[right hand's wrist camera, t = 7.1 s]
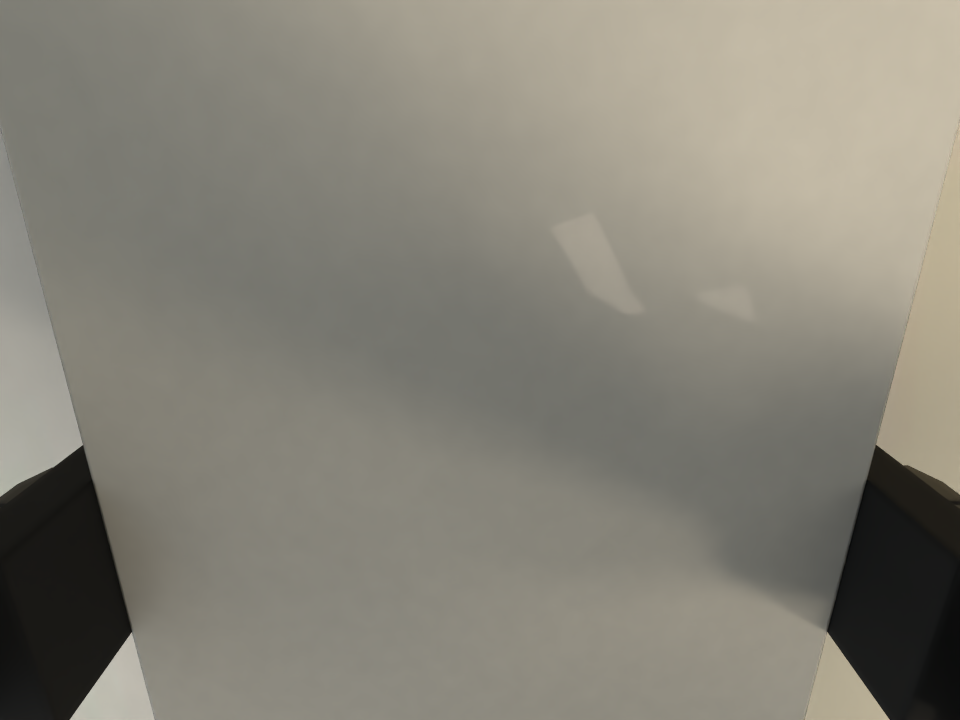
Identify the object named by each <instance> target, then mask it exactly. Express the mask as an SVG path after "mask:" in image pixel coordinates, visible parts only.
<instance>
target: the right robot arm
mask: <svg viewBox="0 0 960 720" xmlns="http://www.w3.org/2000/svg"><path fill="white" fill-rule="evenodd" d="M131 632H132V630H131V626H130V622H129V619H128V615H127V611H126V607H125V603H124V599H123V596H122V592H121V588H120V584H119V580H118V576H117V573H116V569H115V565H114V561H113V557H112V553H111V550H110V546H109V542H108V538H107V534H106V531H105V527H104V523H103V519H102V515H101V511H100V508H99V504H98V500H97V496H96V492H95V488H94V485H93V481H92V477H91V473H90V469H89V465H88V462H87V458H86V454H85V450H84V446H83V445H82V446H81V447H80V448H78V449H77V450H76V451H75V452H73V453H72V454H71V455H69V456H68V457H67V458H65V459H64V460H63V461H61V462H60V463H59V464H58V465H56V466H55V467H54V468H50V469H48V470H46V471H44V472H42V473H40V474H38V475H36V476H34V477H32V478H29V479H27V480H25V481H23V482H21V483H19V484H17V485H16V486H15V487H13V488H12V489H10V490H9V491H8V492H6V493H5V494H4V495H2V496H1V497H0V720H70V718H71V717H72V715H73V714H74V713H75V711H76V710H77V708H78V707H79V706H80V704H81V703H82V701H83V700H84V699H85V697H86V696H87V694H88V693H89V692H90V690H91V689H92V687H93V686H94V684H95V683H96V682H97V680H98V679H99V677H100V676H101V675H102V673H103V672H104V670H105V669H106V668H107V666H108V665H109V663H110V662H111V661H112V659H113V658H114V656H115V655H116V653H117V652H118V651H119V649H120V648H121V646H122V645H123V644H124V642H125V641H126V639H127V638H128V637H129V635H130V634H131ZM827 632H828V633H829V635H830V636H831V637H832V639H833V640H834V642H835V643H836V645H837V646H838V647H839V649H840V650H841V652H842V653H843V654H844V656H845V657H846V659H847V660H848V661H849V663H850V664H851V666H852V667H853V668H854V670H855V671H856V673H857V674H858V676H859V677H860V678H861V680H862V681H863V683H864V684H865V685H866V687H867V688H868V690H869V691H870V692H871V694H872V695H873V697H874V698H875V699H876V701H877V702H878V704H879V705H880V707H881V708H882V709H883V711H884V712H885V714H886V715H887V716H888V718H889V719H890V720H960V495H959V494H958V493H957V492H955V491H954V490H953V489H951V488H950V487H948V486H947V485H946V484H944V483H943V482H941V481H939V480H937V479H935V478H933V477H931V476H929V475H927V474H925V473H923V472H920V471H918V470H916V469H914V468H912V467H910V466H908V465H902V464H900V463H899V462H898V461H897V460H895V459H894V458H893V457H891V456H890V455H889V454H887V453H886V452H885V451H883V450H882V449H881V448H880V447H878V446H877V445H876V446H875V449H874V453H873V457H872V461H871V465H870V469H869V473H868V476H867V480H866V484H865V488H864V492H863V496H862V500H861V503H860V507H859V511H858V515H857V519H856V523H855V526H854V530H853V534H852V538H851V542H850V546H849V550H848V553H847V557H846V561H845V565H844V569H843V573H842V577H841V580H840V584H839V588H838V592H837V596H836V600H835V603H834V607H833V611H832V615H831V619H830V623H829V627H828V630H827Z"/></svg>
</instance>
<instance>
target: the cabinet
mask: <svg viewBox="0 0 960 720" xmlns="http://www.w3.org/2000/svg"><path fill="white" fill-rule="evenodd" d="M959 122H960V0H0V128H1V132H2V136H3V140H4V144H5V147H6V151H7V155H8V159H9V163H10V167H11V170H12V174H13V178H14V182H15V186H16V190H17V193H18V197H19V201H20V205H21V209H22V212H23V216H24V220H25V224H26V228H27V232H28V235H29V239H30V243H31V247H32V251H33V255H34V258H35V262H36V266H37V270H38V274H39V278H40V281H41V285H42V289H43V293H44V297H45V301H46V304H47V308H48V312H49V316H50V320H51V324H52V327H53V331H54V335H55V339H56V343H57V347H58V350H59V354H60V358H61V362H62V366H63V370H64V373H65V377H66V381H67V385H68V389H69V393H70V396H71V400H72V404H73V408H74V412H75V416H76V419H77V423H78V427H79V431H80V435H81V439H82V442H83V446H84V450H85V454H86V458H87V462H88V465H89V469H90V473H91V477H92V481H93V485H94V488H95V492H96V496H97V500H98V504H99V508H100V511H101V515H102V519H103V523H104V527H105V531H106V534H107V538H108V542H109V546H110V550H111V553H112V557H113V561H114V565H115V569H116V573H117V576H118V580H119V584H120V588H121V592H122V596H123V599H124V603H125V607H126V611H127V615H128V619H129V622H130V626H131V630H132V634H133V638H134V642H135V645H136V649H137V653H138V657H139V661H140V665H141V668H142V672H143V676H144V680H145V684H146V688H147V691H148V695H149V699H150V703H151V707H152V711H153V714H154V718H155V720H804V719H805V715H806V711H807V707H808V704H809V700H810V696H811V692H812V688H813V684H814V680H815V677H816V673H817V669H818V665H819V661H820V657H821V654H822V650H823V646H824V642H825V638H826V634H827V630H828V627H829V623H830V619H831V615H832V611H833V607H834V603H835V600H836V596H837V592H838V588H839V584H840V580H841V577H842V573H843V569H844V565H845V561H846V557H847V553H848V550H849V546H850V542H851V538H852V534H853V530H854V526H855V523H856V519H857V515H858V511H859V507H860V503H861V500H862V496H863V492H864V488H865V484H866V480H867V476H868V473H869V469H870V465H871V461H872V457H873V453H874V449H875V446H876V442H877V438H878V434H879V430H880V426H881V422H882V419H883V415H884V411H885V407H886V403H887V399H888V396H889V392H890V388H891V384H892V380H893V376H894V372H895V369H896V365H897V361H898V357H899V353H900V349H901V345H902V342H903V338H904V334H905V330H906V326H907V322H908V319H909V315H910V311H911V307H912V303H913V299H914V295H915V292H916V288H917V284H918V280H919V276H920V272H921V268H922V265H923V261H924V257H925V253H926V249H927V245H928V242H929V238H930V234H931V230H932V226H933V222H934V218H935V215H936V211H937V207H938V203H939V199H940V195H941V191H942V188H943V184H944V180H945V176H946V172H947V168H948V164H949V161H950V157H951V153H952V149H953V145H954V141H955V138H956V134H957V130H958V126H959Z"/></svg>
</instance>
